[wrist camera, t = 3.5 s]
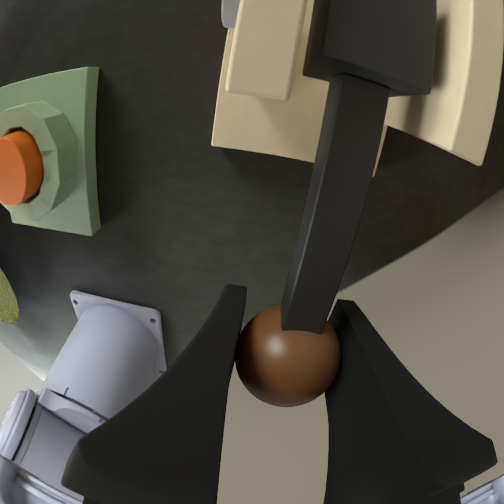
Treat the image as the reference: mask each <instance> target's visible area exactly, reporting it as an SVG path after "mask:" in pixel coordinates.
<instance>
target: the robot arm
mask: <svg viewBox="0 0 504 504" xmlns="http://www.w3.org/2000/svg"><path fill="white" fill-rule="evenodd" d="M246 294H247V287H245V286H238V285H232V284H227V285H226V286H224V289H223V292H222V294H221V296H220V298H219V300H218V302H217V304H216V306H215V307H214V309H213V311H212V312H211V314H210V316H209V317H208V319H207V320H206V322H205V323H204V325H203V326H202V328H201V329H200V330H199V332H198V333H197V334H196V336H195V337H194V338H193V340H192V341H191V342H190V343H189V345H188V346H187V347H186V349H185V350H184V351H183V352H182V353H181V354H180V356H179V357H178V358H177V359H176V360H175V361H174V362H173V363H172V365H171V366H170V367H169V368H168V369H167V365H166V358H165V350H164V342H163V333H162V324H161V315H160V312H159V311H158V310H156V309H153V308H148V307H143V306H138V305H134V304H129V303H125V302H120V301H116V300H112V299H107V298H103V297H99V296H95V295H91V294H87V293H83V292H80V291H76V290H73V291H72V292H71V293H70V298H71V301H72V304H73V307H74V310H75V313H76V315H77V318H78V322H77V324H76V326H75V327H74V329H73V331H72V332H71V334H70V336H69V337H68V339H67V341H66V342H65V344H64V346H63V348H62V350H61V351H60V353H59V355H58V357H57V359H56V360H55V362H54V364H53V366H52V368H51V370H50V372H49V373H48V375H47V377H46V379H45V381H44V383H43V385H42V387H41V389H40V391H39V392H37V393H35V392H33V391H32V390H30V389H28V390H27V391H19V393H18V394H17V395H16V397H15V399H14V400H13V403H12V404H11V406H10V408H9V410H8V412H7V414H6V416H5V418H4V420H3V423H2V425H1V427H0V504H217V493H218V482H219V471H220V462H221V451H222V442H223V431H224V423H225V413H226V404H227V396H228V387H229V383H230V379H231V374H232V370H233V366H234V361H235V352H236V347H237V343H238V339H239V336H240V331H241V325H242V320H243V315H244V309H245V304H246ZM328 322H329V323H330V324H331V326H332V327H333V329H334V330H335V332H336V335H337V337H338V340H339V344H340V350H341V359H340V365H339V369H338V372H337V375H336V377H335V379H334V380H333V382H332V383H331V385H330V386H329V387H328V389H327V390H326V391H325V398H326V406H327V413H328V423H329V453H328V472H327V482H326V491H325V498H324V504H504V474H503V475H501V476H500V477H498V478H496V479H494V480H492V481H490V482H488V483H486V484H484V485H482V486H480V487H478V488H476V489H474V490H472V491H470V492H469V493H467V495H465V496H463V497H460V492H462V491H464V489H465V487H464V482H466V481H468V480H470V479H471V478H474V477H475V476H477V475H479V474H481V473H483V472H484V471H486V470H488V469H490V468H491V467H493V466H494V465H496V463H497V457H496V453H495V449H494V445H493V442H492V440H491V439H489V438H487V437H486V436H484V435H482V434H481V433H479V432H478V431H476V430H474V429H473V428H471V427H470V426H468V425H467V424H465V423H464V422H463V421H461V420H460V419H459V418H457V417H456V416H455V415H454V414H452V413H451V412H450V411H449V410H447V409H446V408H445V407H444V406H443V405H442V404H440V402H438V401H437V400H436V399H435V398H434V397H433V396H432V395H431V394H430V393H429V392H428V391H426V389H425V388H424V387H423V386H422V385H421V384H420V383H419V382H418V381H417V380H416V379H415V378H414V377H413V376H412V375H411V373H410V372H409V371H408V370H407V369H406V368H405V366H404V365H403V364H402V363H401V362H400V361H399V359H398V358H397V357H396V356H395V354H394V353H393V352H392V351H391V349H390V348H389V347H388V345H387V344H386V343H385V342H384V340H383V339H382V338H381V336H380V335H379V334H378V332H377V331H376V330H375V328H374V327H373V326H372V324H371V323H370V322H369V320H368V319H367V317H366V316H365V315H364V313H363V312H362V311H361V310H360V308H359V307H358V306H357V304H356V303H355V302H354V301H350V300H341V299H338V300H337V302H336V304H335V306H334V309H333V311H332V313H331V315H330V318H329V320H328Z"/></svg>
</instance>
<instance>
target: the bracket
mask: <svg viewBox="0 0 504 504" xmlns="http://www.w3.org/2000/svg"><path fill="white" fill-rule="evenodd" d="M313 4H314V0H222V8H221V16H222V23H223V26H224V27H226V28H228V33H227V38H226V44H225V50H224V56H223V62H222V69H221V75H220V82H219V89H218V96H217V103H216V111H215V119H214V127H213V135H212V146H216V147H224V148H232V149H239V150H246V151H253V152H259V153H265V154H271V155H277V156H283V157H288V158H294V159H299V160H304V161H309V162H315V157H316V152H317V147H318V142H319V137H320V132H321V126H322V121H323V116H324V110H325V105H326V99H327V94H328V88H329V82H327V81H323V80H319V79H315V78H310V77H306V76H303V74H302V72H303V66H304V60H305V54H306V48H307V42H308V36H309V30H310V23H311V17H312V11H313ZM503 48H504V3H503V0H437V23H436V45H435V59H434V69H433V78H432V86H431V93H430V94H429V95H411V96H398V97H389V99H388V105H387V111H386V116H385V121H384V126H383V131H382V136H381V141H380V146H379V150H378V155H377V159H376V163H375V167H374V171H373V176H374V175H375V172H376V168H377V165H378V161H379V157H380V154H381V150H382V146H383V143H384V139H385V135H386V131H387V127H388V126H390V127H393V128H396V129H398V130H401V131H403V132H406V133H408V134H410V135H413V136H415V137H418V138H420V139H422V140H424V141H427V142H429V143H431V144H433V145H435V146H438V147H440V148H442V149H444V150H446V151H448V152H450V153H452V154H454V155H456V156H459V157H461V158H463V159H465V160H467V161H469V162H471V163H473V164H475V165H477V166H481V165H482V163H483V160H484V157H485V153H486V149H487V146H488V142H489V138H490V134H491V130H492V125H493V121H494V116H495V111H496V106H497V100H498V94H499V88H500V80H501V72H502V62H503Z"/></svg>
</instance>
